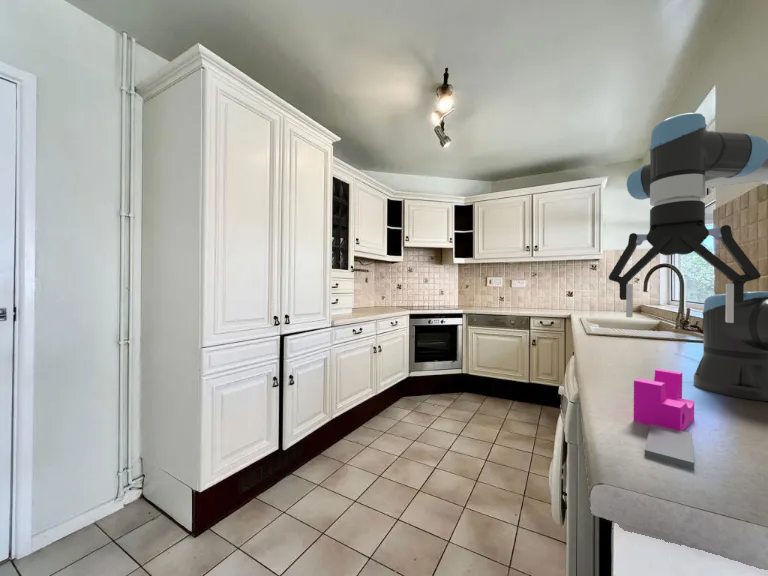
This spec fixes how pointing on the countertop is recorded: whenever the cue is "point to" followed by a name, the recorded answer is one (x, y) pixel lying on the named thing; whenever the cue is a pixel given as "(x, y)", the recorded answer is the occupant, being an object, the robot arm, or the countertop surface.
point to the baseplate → (670, 446)
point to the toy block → (662, 401)
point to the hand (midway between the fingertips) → (675, 319)
